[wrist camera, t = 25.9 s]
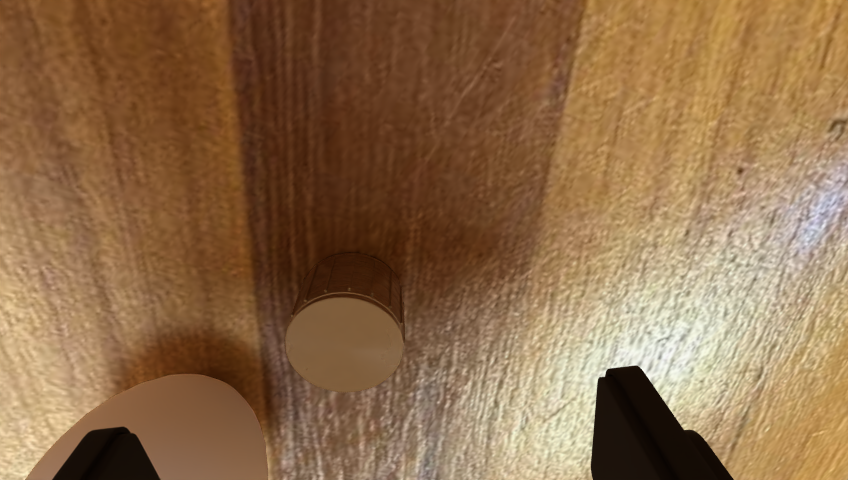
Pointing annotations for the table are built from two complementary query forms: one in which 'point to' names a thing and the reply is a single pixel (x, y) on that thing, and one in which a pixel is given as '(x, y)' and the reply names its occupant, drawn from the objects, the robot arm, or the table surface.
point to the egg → (177, 430)
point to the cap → (347, 324)
